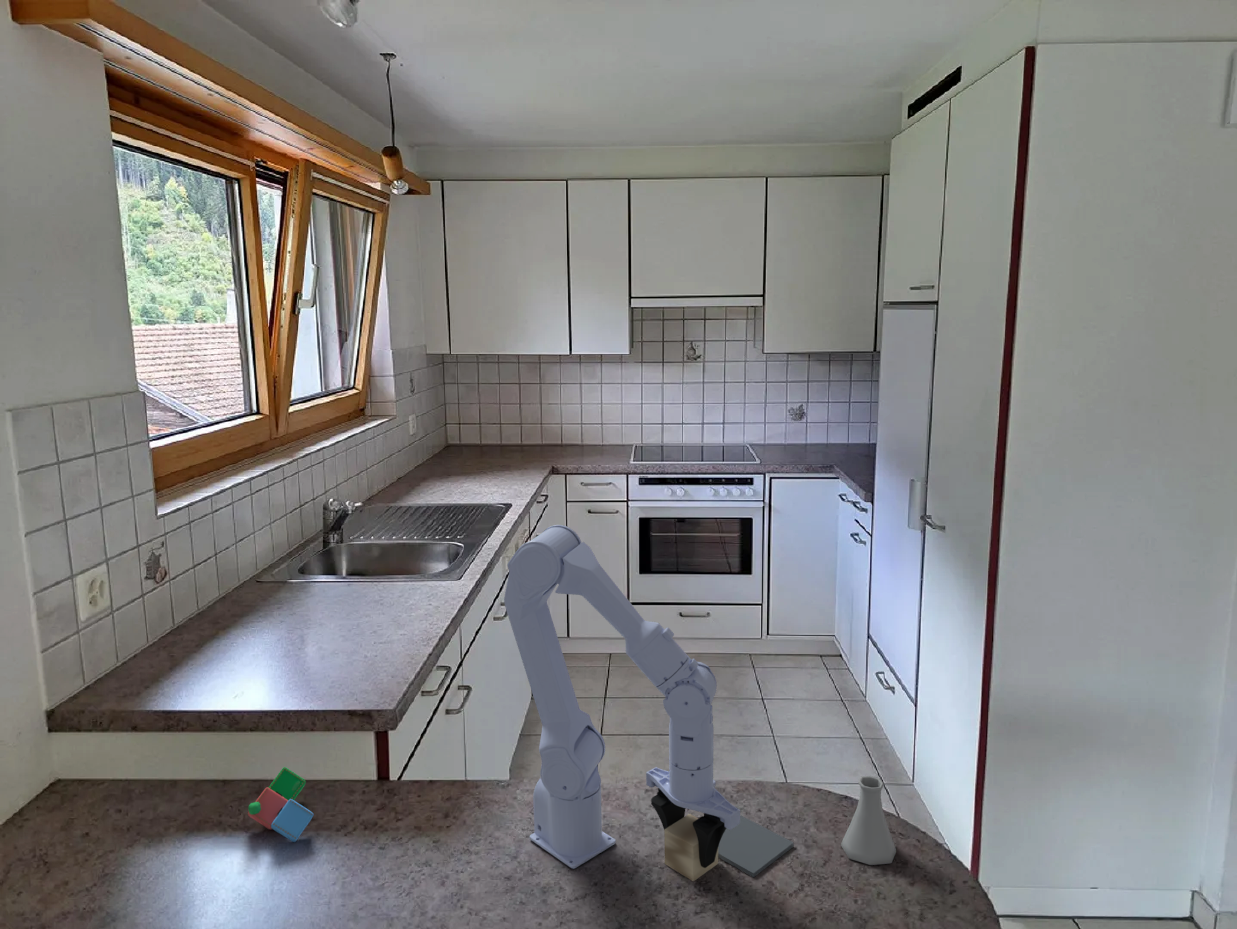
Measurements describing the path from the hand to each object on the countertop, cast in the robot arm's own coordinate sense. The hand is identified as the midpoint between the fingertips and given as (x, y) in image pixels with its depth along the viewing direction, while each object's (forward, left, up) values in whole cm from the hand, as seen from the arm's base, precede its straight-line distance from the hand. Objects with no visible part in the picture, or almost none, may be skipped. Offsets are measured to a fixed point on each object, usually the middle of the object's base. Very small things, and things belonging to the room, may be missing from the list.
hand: (691, 854), depth 110 cm
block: (0, 0, -1) cm, 1 cm away
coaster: (+3, +8, -1) cm, 9 cm away
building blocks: (-47, -34, -2) cm, 58 cm away
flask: (+15, +19, -2) cm, 24 cm away
